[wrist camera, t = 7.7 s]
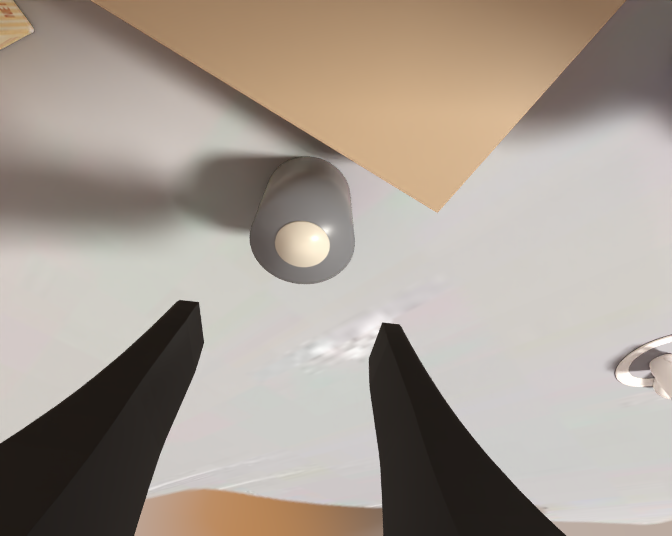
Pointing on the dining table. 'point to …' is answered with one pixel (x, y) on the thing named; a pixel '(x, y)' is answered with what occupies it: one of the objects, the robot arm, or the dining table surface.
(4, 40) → the coffeecake box
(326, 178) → the dimpled grey cylinder
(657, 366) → the teacup and saucer
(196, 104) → the dining table surface
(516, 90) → the box lid
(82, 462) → the robot arm
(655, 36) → the dining table surface
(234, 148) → the dining table surface
